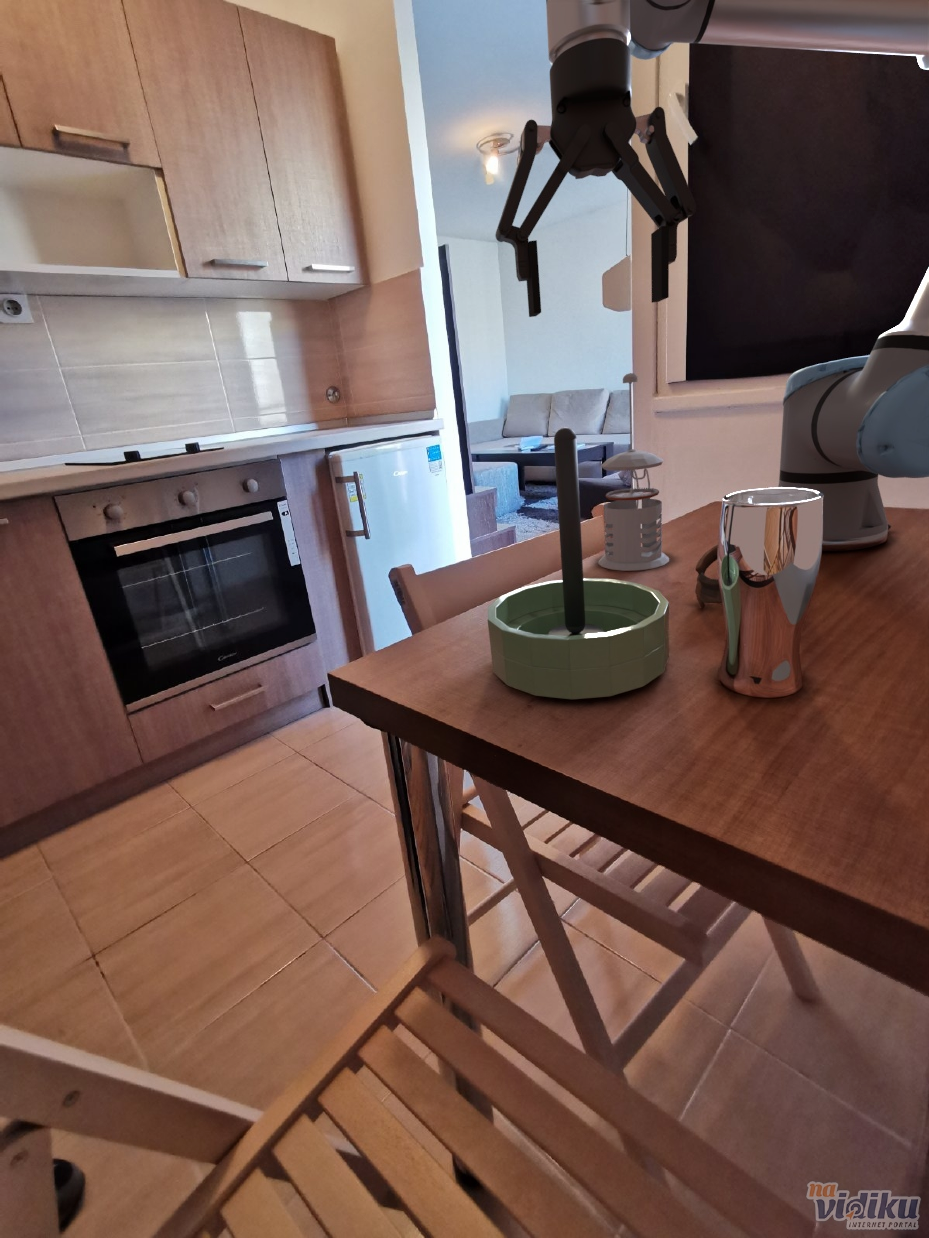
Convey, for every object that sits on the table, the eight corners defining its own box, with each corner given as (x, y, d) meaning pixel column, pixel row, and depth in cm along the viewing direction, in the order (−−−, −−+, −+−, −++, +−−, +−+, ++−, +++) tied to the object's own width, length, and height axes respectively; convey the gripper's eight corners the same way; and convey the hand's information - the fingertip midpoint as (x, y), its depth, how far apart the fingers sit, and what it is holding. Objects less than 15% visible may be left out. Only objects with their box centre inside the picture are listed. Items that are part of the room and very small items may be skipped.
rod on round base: (610, 648, 55) (602, 422, 48) (598, 672, 51) (588, 427, 44) (558, 645, 57) (544, 427, 50) (542, 667, 53) (524, 433, 46)
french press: (589, 569, 83) (580, 378, 74) (612, 548, 92) (607, 376, 83) (661, 571, 78) (661, 368, 69) (678, 549, 87) (679, 367, 79)
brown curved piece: (819, 618, 59) (794, 558, 55) (727, 657, 62) (697, 603, 59) (772, 558, 69) (748, 504, 65) (695, 595, 72) (668, 546, 68)
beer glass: (733, 655, 52) (742, 486, 47) (821, 674, 48) (840, 487, 42) (698, 686, 48) (702, 503, 43) (790, 710, 43) (807, 506, 38)
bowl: (676, 638, 57) (677, 579, 55) (653, 717, 44) (652, 645, 42) (525, 629, 64) (521, 577, 62) (467, 696, 51) (458, 632, 49)
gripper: (461, 46, 51) (486, 315, 58) (738, 19, 52) (729, 287, 60) (455, 90, 58) (478, 325, 66) (699, 65, 59) (695, 300, 67)
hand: (597, 308), depth 63 cm, fingers open, 13 cm apart
